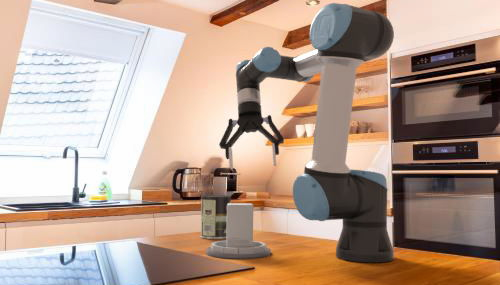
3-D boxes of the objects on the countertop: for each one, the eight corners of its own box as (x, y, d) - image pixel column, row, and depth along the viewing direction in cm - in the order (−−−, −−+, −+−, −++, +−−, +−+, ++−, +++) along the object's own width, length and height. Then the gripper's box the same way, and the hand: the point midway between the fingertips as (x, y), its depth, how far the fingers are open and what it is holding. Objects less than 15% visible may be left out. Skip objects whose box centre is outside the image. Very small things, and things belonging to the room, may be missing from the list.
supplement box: (253, 251, 133) (253, 204, 134) (225, 251, 133) (226, 204, 133) (252, 247, 140) (252, 202, 141) (226, 247, 140) (226, 202, 141)
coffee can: (231, 235, 173) (231, 195, 173) (229, 239, 162) (230, 196, 163) (202, 234, 173) (202, 194, 174) (198, 239, 162) (199, 196, 163)
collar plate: (276, 249, 143) (276, 241, 143) (263, 260, 126) (263, 250, 126) (217, 246, 147) (217, 238, 148) (196, 256, 130) (196, 247, 130)
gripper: (287, 106, 163) (293, 167, 154) (213, 113, 164) (215, 173, 156) (287, 96, 156) (293, 158, 148) (209, 103, 158) (211, 165, 149)
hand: (253, 166), depth 152 cm, fingers open, 13 cm apart
